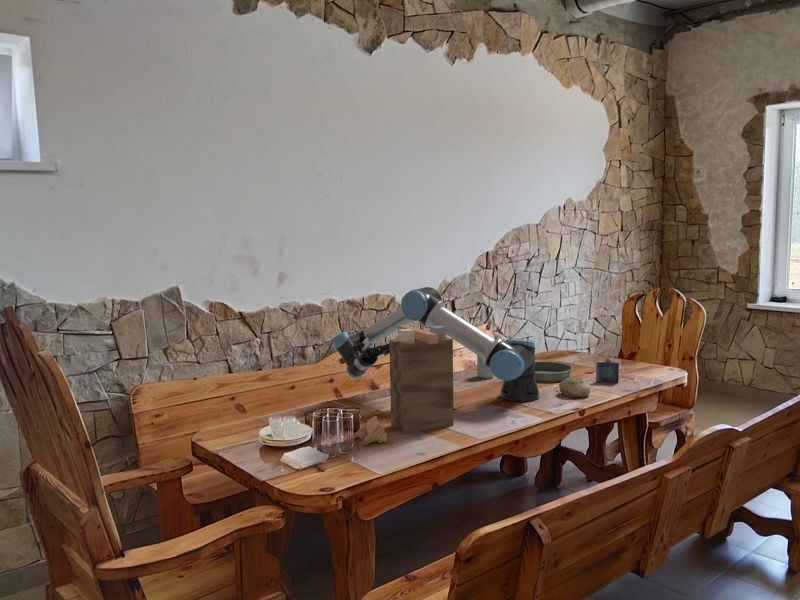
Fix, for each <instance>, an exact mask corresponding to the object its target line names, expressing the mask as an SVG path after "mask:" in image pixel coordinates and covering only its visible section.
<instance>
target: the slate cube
mask: <svg viewBox="0 0 800 600" xmlns="http://www.w3.org/2000/svg"><path fill="white" fill-rule="evenodd" d="M429 332H432V333H435V334H438V340H439V339H446V337H447V335H446V327H444V326H429Z"/></svg>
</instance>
